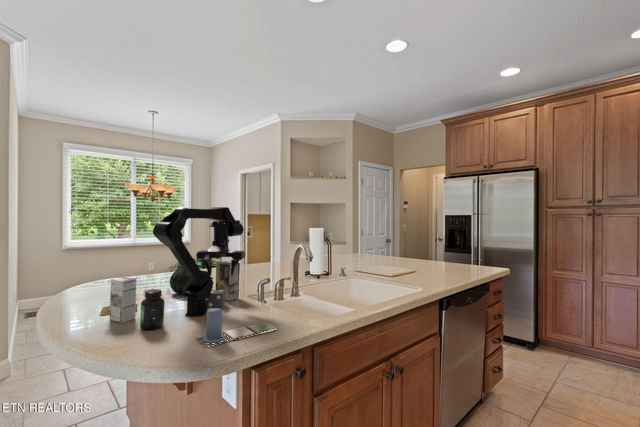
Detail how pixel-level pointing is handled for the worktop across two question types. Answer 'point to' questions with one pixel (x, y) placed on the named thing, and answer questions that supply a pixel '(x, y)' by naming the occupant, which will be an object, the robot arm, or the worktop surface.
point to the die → (216, 299)
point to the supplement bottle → (152, 311)
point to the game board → (243, 332)
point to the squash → (179, 281)
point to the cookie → (108, 311)
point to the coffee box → (227, 280)
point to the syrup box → (123, 299)
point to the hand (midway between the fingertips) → (221, 275)
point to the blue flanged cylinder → (214, 326)
